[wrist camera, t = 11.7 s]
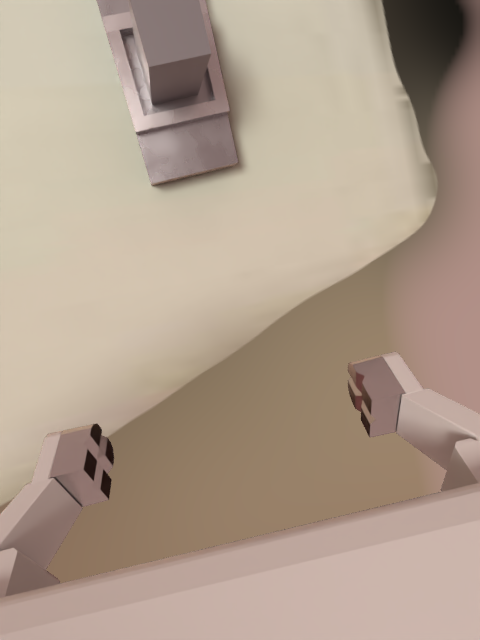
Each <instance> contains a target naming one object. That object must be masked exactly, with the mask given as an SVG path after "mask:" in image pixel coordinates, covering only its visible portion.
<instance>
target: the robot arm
mask: <svg viewBox="0 0 480 640" xmlns="http://www.w3.org/2000/svg"><path fill="white" fill-rule="evenodd" d="M348 372H349V374H350V376H351V377H350V379H349V380H348V388H349V394H350V397H351V400H352V402H353V405H354V407H355V409H357V410H359V411H360V412H361V421H362V423H363V425H364V427H365V429H366V431H367V433H368V435H369V437H374V436H379V435H384V434H388V433H393V432H396V433H397V434H398V435H399V436H401V437H402V438H404V439H405V440H406V441H408V442H409V443H410V444H412V445H413V446H414V447H416V448H417V449H419V450H420V451H421V452H423V453H424V454H425V455H427V456H428V457H429V458H431V459H432V460H433V461H435V462H436V463H438V464H439V465H440V466H441V467H443V468H444V469H446V470H447V472H446V475H445V478H444V482H443V484H442V488H441V491H442V492H438V493H434V494H430V495H426V496H422V497H417V498H413V499H409V500H405V501H401V502H397V503H392V504H388V505H384V506H380V507H376V508H372V509H368V510H363V511H359V512H355V513H351V514H347V515H343V516H338V517H334V518H330V519H326V520H322V521H317V522H314V523H309V524H305V525H301V526H297V527H292V528H288V529H284V530H280V531H276V532H272V533H268V534H263V535H259V536H255V537H251V538H247V539H243V540H239V541H234V542H231V543H226V544H222V545H218V546H213V547H210V548H205V549H201V550H197V551H193V552H189V553H185V554H180V555H176V556H172V557H168V558H164V559H160V560H155V561H151V562H147V563H143V564H139V565H135V566H131V567H126V568H122V569H118V570H114V571H110V572H106V573H102V574H97V575H93V576H89V577H85V578H81V579H77V580H72V581H68V582H65V583H60V581H59V580H58V579H57V578H56V577H55V576H54V575H52V574H51V573H49V572H48V571H46V569H47V567H48V565H49V564H50V562H51V560H52V559H53V557H54V555H55V554H56V552H57V550H58V549H59V547H60V545H61V544H62V542H63V540H64V539H65V537H66V535H67V534H68V532H69V530H70V529H71V527H72V525H73V524H74V522H75V520H76V519H77V517H78V515H79V514H80V512H81V511H82V507H84V506H88V505H91V504H95V503H99V502H103V501H106V500H109V495H110V488H111V478H110V477H109V476H108V473H109V471H110V470H111V469H112V467H113V463H114V453H113V447H112V445H111V442H110V441H109V439H108V438H107V437H105V436H102V435H101V433H102V429H101V428H100V426H99V425H98V424H91V425H87V426H82V427H77V428H72V429H68V430H64V431H59V432H55V433H50V434H48V435H47V436H46V437H45V439H44V442H43V445H42V448H41V452H40V455H39V458H38V462H37V465H36V468H35V472H34V475H33V478H32V482H31V483H29V484H26V485H25V486H24V488H23V489H22V490H21V491H20V492H19V493H18V494H17V496H16V497H15V498H14V499H13V500H12V501H11V503H10V504H9V505H8V506H7V507H6V508H5V510H4V511H3V512H2V513H1V514H0V640H480V414H479V413H477V412H475V411H473V410H471V409H469V408H467V407H465V406H463V405H461V404H459V403H457V402H455V401H453V400H451V399H449V398H447V397H445V396H443V395H441V394H439V393H437V392H435V391H433V390H431V389H429V388H427V389H423V387H422V386H421V384H420V383H419V382H418V380H417V379H416V377H415V376H414V374H413V373H412V372H411V370H410V369H409V367H408V366H407V365H406V363H405V362H404V360H403V359H402V358H401V356H400V355H399V353H397V352H391V353H387V354H383V355H380V356H379V355H378V356H374V357H370V358H366V359H362V360H358V361H354V362H350V363H349V365H348Z"/></svg>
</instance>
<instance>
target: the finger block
mask: <svg viewBox="0 0 480 640" xmlns="http://www.w3.org/2000/svg"><path fill="white" fill-rule="evenodd" d="M128 1H129V8H130V14H131V21H132V27H133V34H134V41H135V47H136V52H137V56H138V59H139V63H140V66H141V70H142V73H143V77H144V80H145V84H146V87H147V91H148V94H149V98H150V101H151V105H155V104H160V103H164V102H168V101H173V100H177V99H182V98H186V97H190V96H195V95H198V93H199V90H200V87H201V84H202V81H203V78H204V75H205V72H206V69H207V65H208V62H209V59H210V56H211V50H210V45H209V41H208V37H207V32H206V28H205V24H204V19H203V15H202V11H201V7H200V2H199V0H128Z"/></svg>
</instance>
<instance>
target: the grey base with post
mask: <svg viewBox="0 0 480 640" xmlns="http://www.w3.org/2000/svg"><path fill="white" fill-rule="evenodd" d="M199 2H200V7H201V11H202V15H203V19H204V24H205V28H206V32H207V37H208V41H209V45H210V50H211V56H210V59H209V62H208V65H207V69H206V72H205V75H204V78H203V81H202V84H201V87H200V90H199V93H198V95H195V96H190V97H186V98H182V99H177V100H173V101H168V102H164V103H160V104H155V105H151V101H150V98H149V94H148V91H147V87H146V84H145V80H144V77H143V73H142V70H141V66H140V63H139V59H138V56H137V52H136V47H135V41H134V34H133V27H132V21H131V14H130V8H129V1H128V0H97V3H98V6H99V10H100V13H101V16H102V20H103V23H104V27H105V30H106V33H107V37H108V40H109V44H110V47H111V50H112V54H113V57H114V60H115V64H116V67H117V71H118V74H119V77H120V81H121V84H122V87H123V91H124V94H125V98H126V101H127V104H128V108H129V111H130V114H131V118H132V121H133V125H134V128H135V131H136V134H137V138H138V141H139V145H140V148H141V151H142V155H143V158H144V161H145V165H146V168H147V172H148V175H149V178H150V182H151V185H152V186H154V185H158V184H162V183H166V182H170V181H174V180H178V179H182V178H186V177H190V176H194V175H198V174H203V173H207V172H211V171H215V170H219V169H223V168H227V167H231V166H234V165H235V164H237V163H238V159H237V154H236V150H235V145H234V141H233V136H232V132H231V127H230V123H229V118H228V113H229V111H230V109H229V104H228V100H227V95H226V91H225V86H224V82H223V77H222V73H221V68H220V64H219V59H218V55H217V50H216V46H215V41H214V37H213V32H212V28H211V23H210V19H209V14H208V10H207V5H206V1H205V0H199Z"/></svg>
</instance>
